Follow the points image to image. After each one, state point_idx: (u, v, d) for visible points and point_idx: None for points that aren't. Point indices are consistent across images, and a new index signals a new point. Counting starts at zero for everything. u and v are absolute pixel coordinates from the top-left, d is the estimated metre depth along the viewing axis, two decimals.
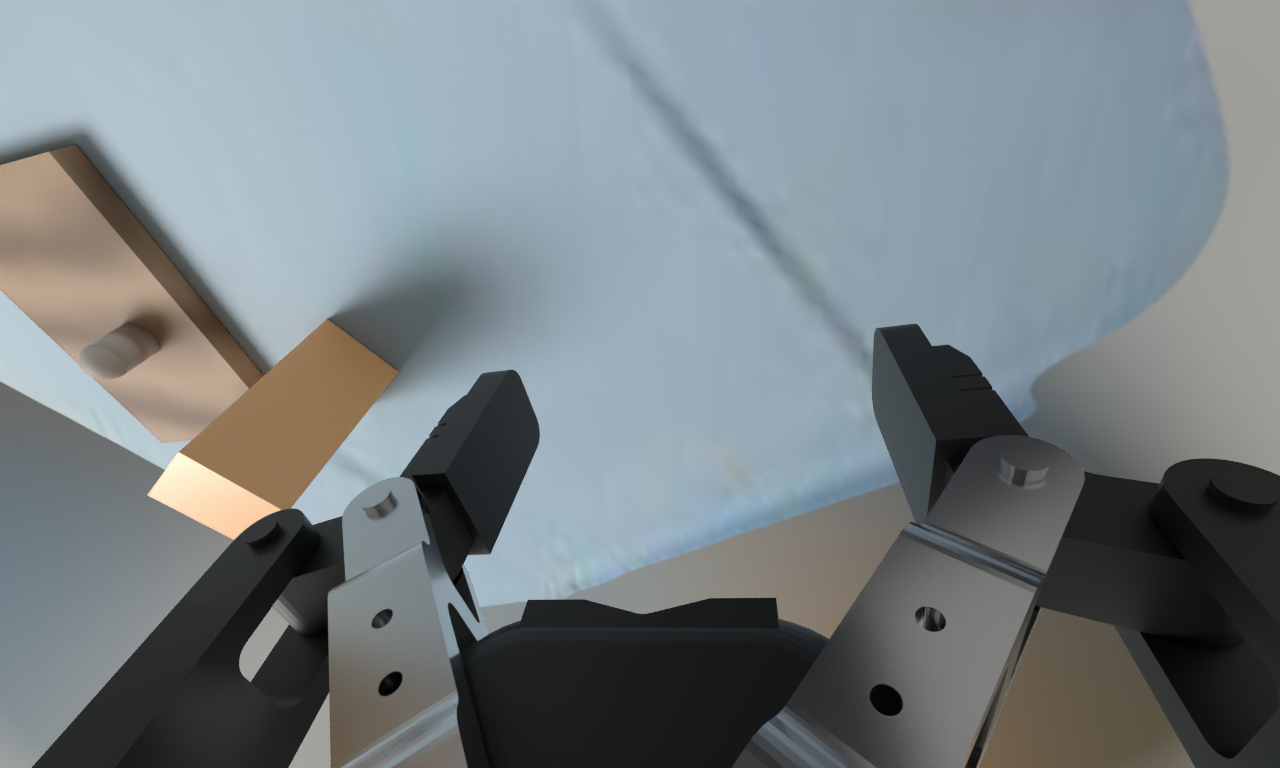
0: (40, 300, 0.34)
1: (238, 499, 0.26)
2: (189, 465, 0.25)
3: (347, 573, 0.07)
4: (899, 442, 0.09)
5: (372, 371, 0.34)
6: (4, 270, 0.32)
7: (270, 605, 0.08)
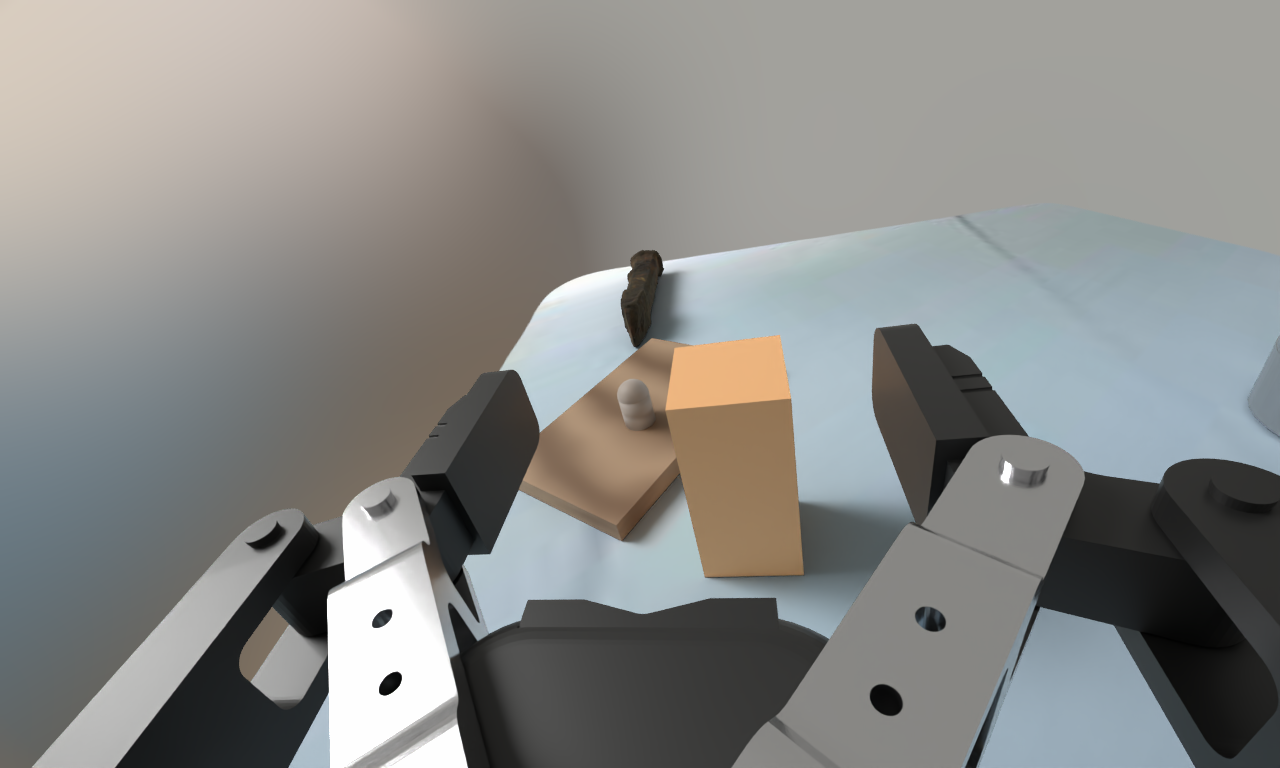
0: (622, 383, 0.46)
1: (759, 374, 0.24)
2: (768, 343, 0.26)
3: (348, 573, 0.07)
4: (899, 442, 0.09)
5: None
6: (635, 369, 0.47)
7: (270, 605, 0.08)
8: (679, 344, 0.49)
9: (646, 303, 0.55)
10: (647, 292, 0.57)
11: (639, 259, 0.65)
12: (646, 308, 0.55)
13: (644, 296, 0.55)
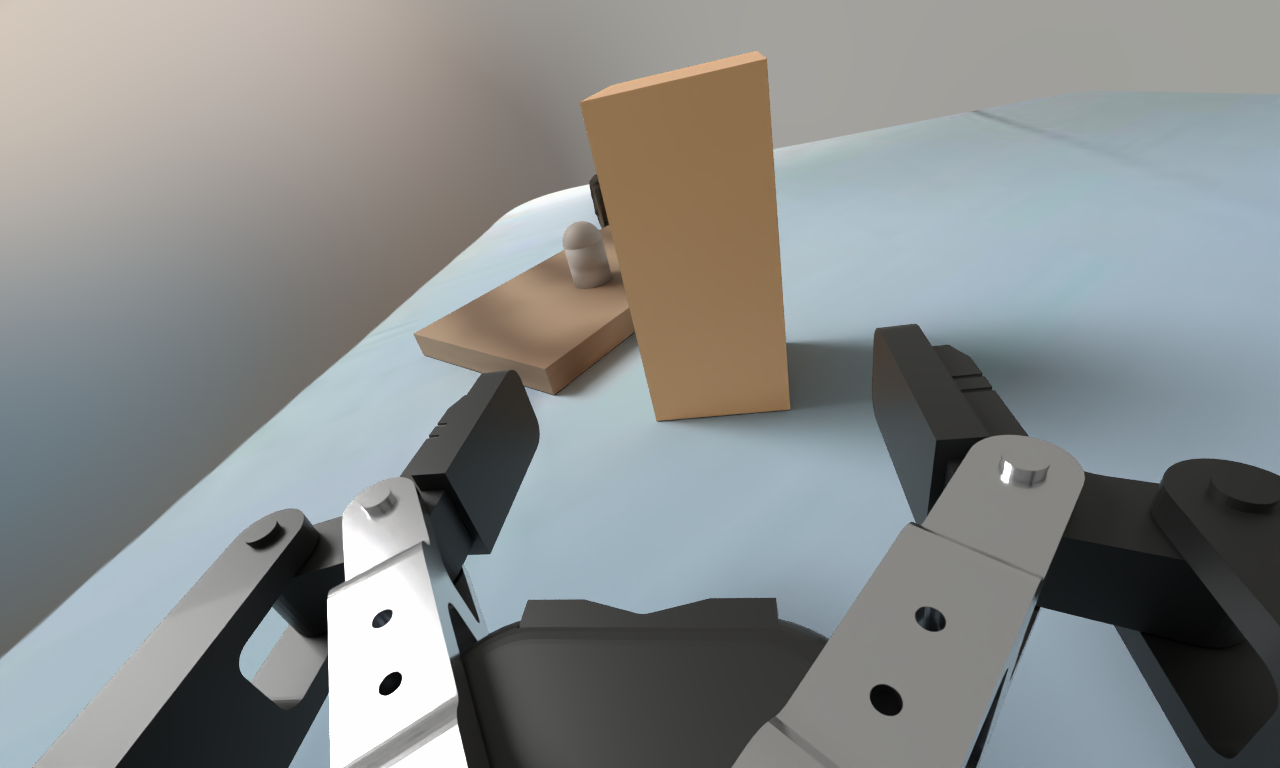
0: None
1: (723, 64, 0.16)
2: (740, 55, 0.18)
3: (348, 573, 0.07)
4: (899, 442, 0.09)
5: None
6: None
7: (270, 605, 0.08)
8: None
9: None
10: None
11: None
12: None
13: None
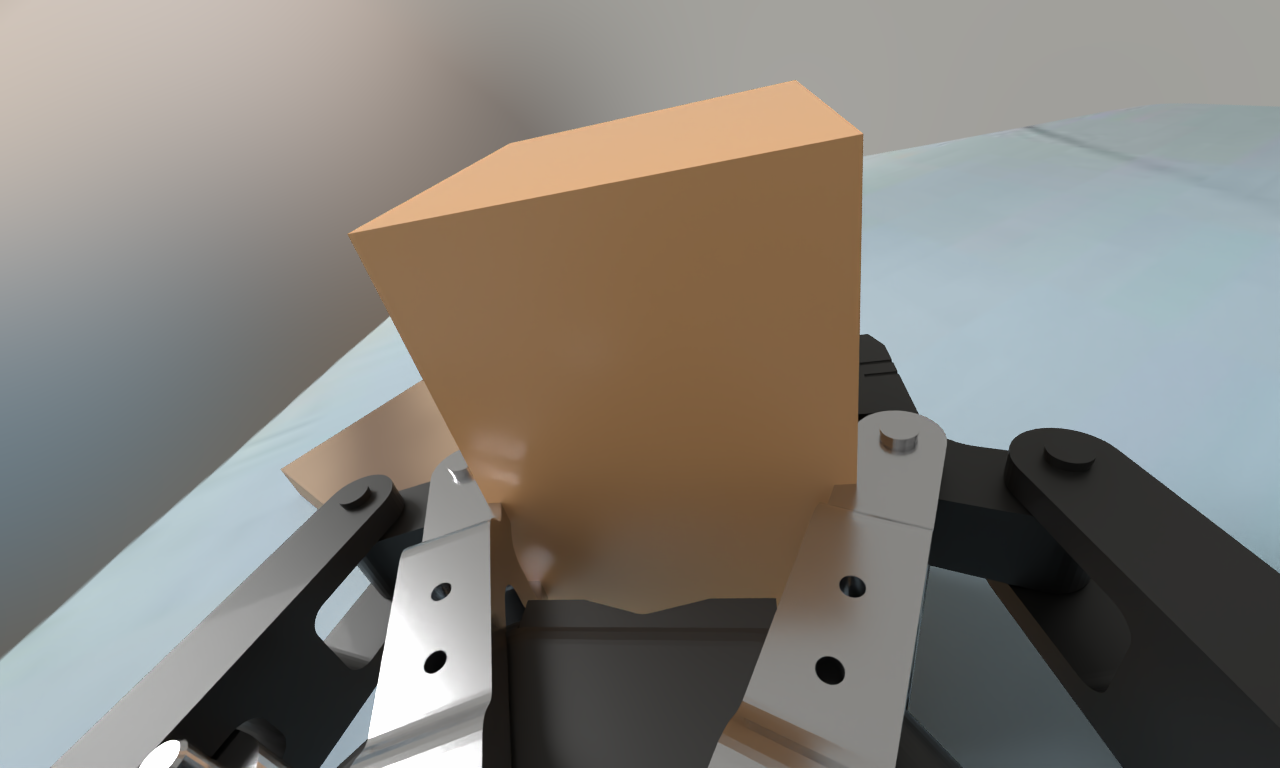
0: None
1: (728, 124, 0.07)
2: (763, 92, 0.09)
3: (425, 533, 0.08)
4: None
5: None
6: None
7: (350, 570, 0.08)
8: None
9: None
10: None
11: None
12: None
13: None
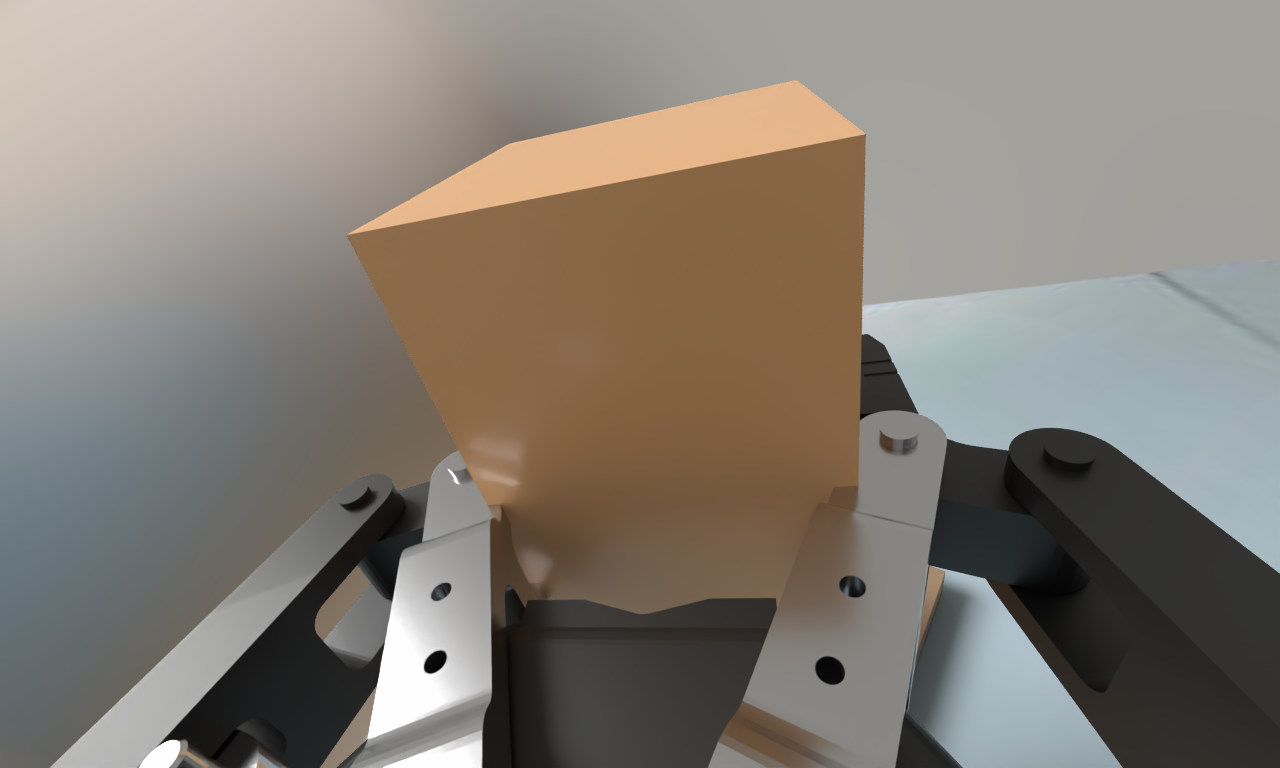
0: None
1: (729, 124, 0.07)
2: (764, 92, 0.09)
3: (425, 533, 0.08)
4: None
5: None
6: None
7: (350, 570, 0.08)
8: None
9: None
10: None
11: None
12: None
13: None
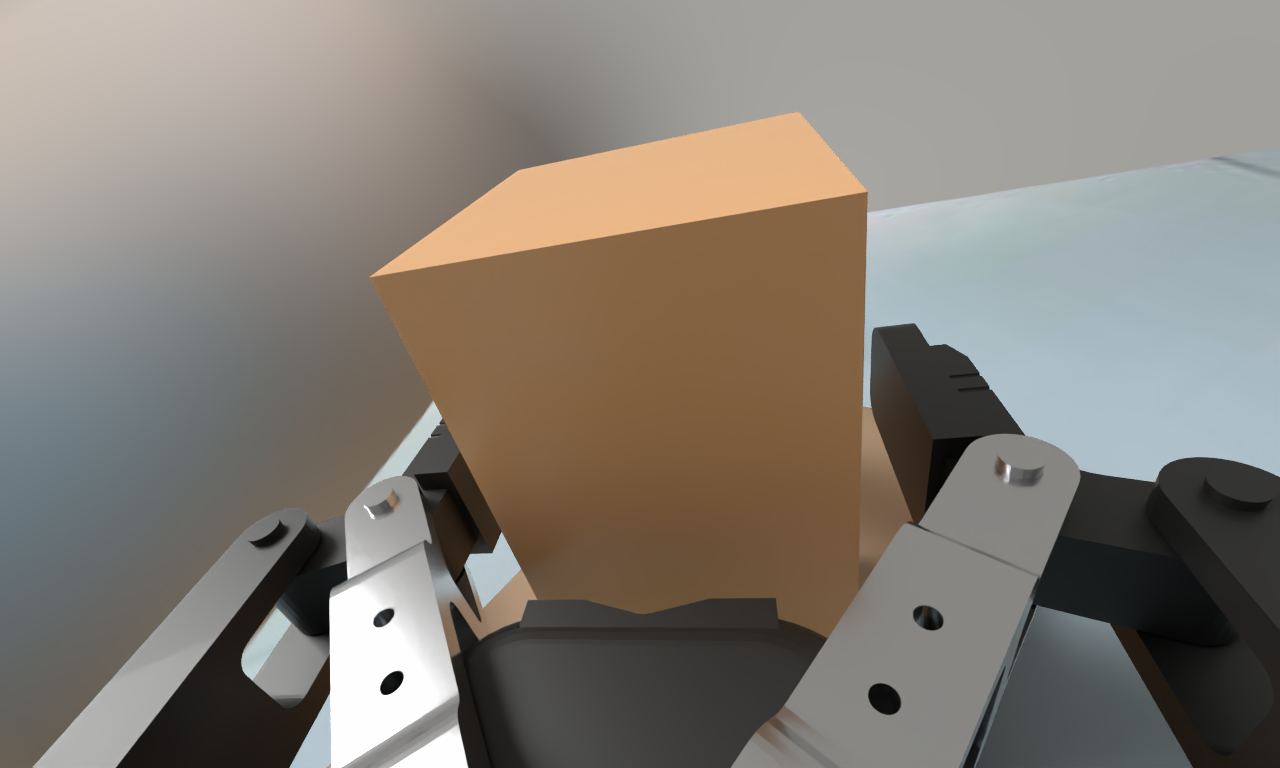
0: None
1: (735, 166, 0.07)
2: (767, 124, 0.09)
3: (350, 572, 0.08)
4: (896, 441, 0.09)
5: None
6: None
7: (273, 604, 0.08)
8: None
9: None
10: None
11: None
12: None
13: None
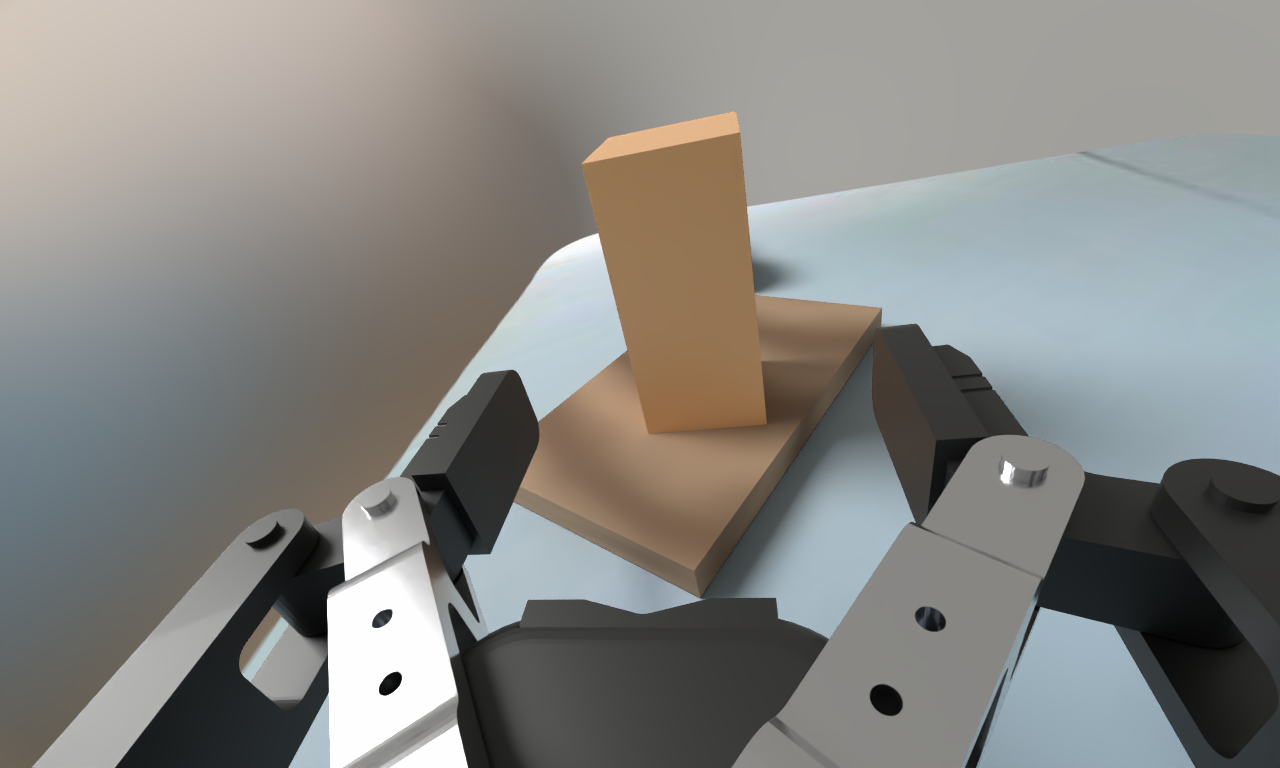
0: None
1: (705, 129, 0.19)
2: (721, 116, 0.21)
3: (348, 573, 0.07)
4: (899, 442, 0.09)
5: None
6: None
7: (270, 605, 0.08)
8: None
9: None
10: None
11: None
12: None
13: None
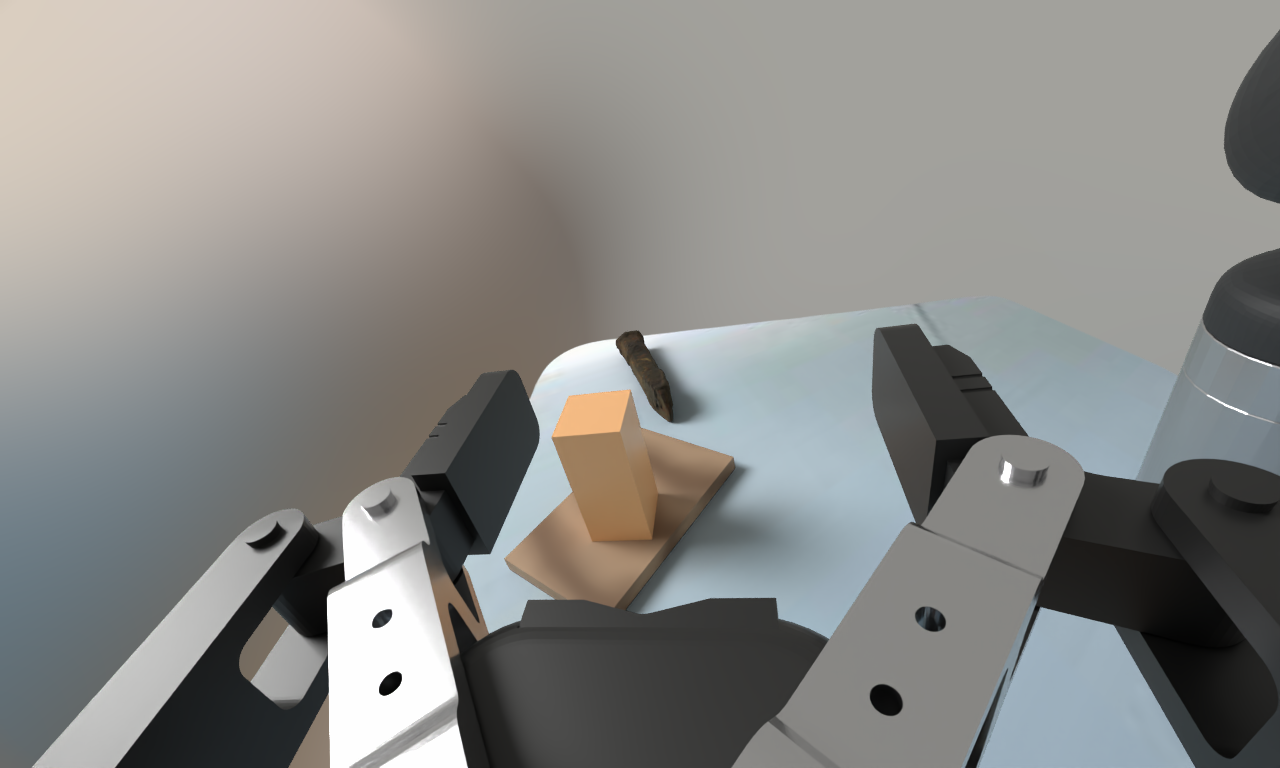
0: None
1: (609, 415, 0.40)
2: (622, 395, 0.42)
3: (347, 574, 0.07)
4: (899, 442, 0.09)
5: (650, 516, 0.45)
6: None
7: (270, 605, 0.08)
8: (662, 436, 0.56)
9: None
10: None
11: (628, 340, 0.72)
12: None
13: (664, 376, 0.62)
